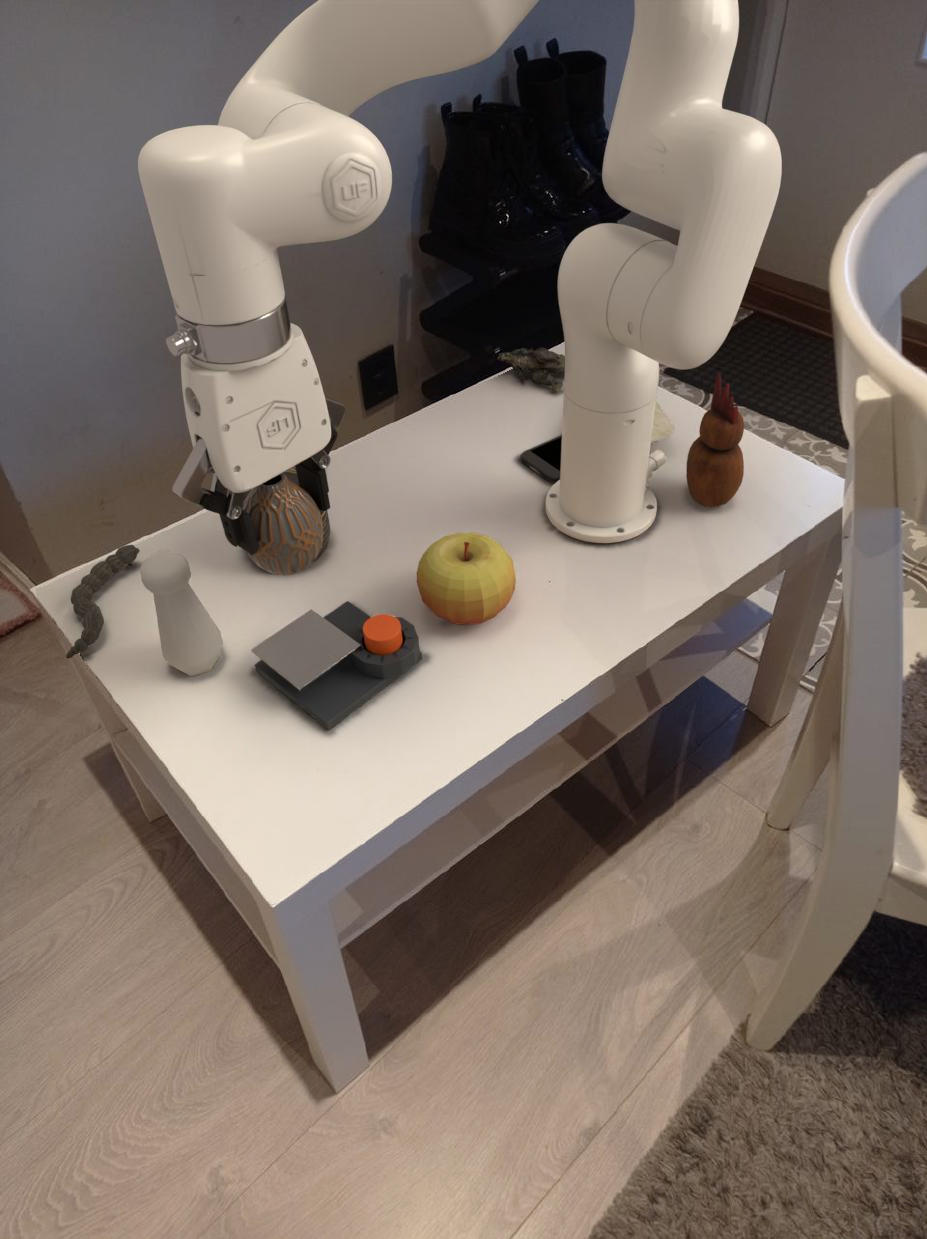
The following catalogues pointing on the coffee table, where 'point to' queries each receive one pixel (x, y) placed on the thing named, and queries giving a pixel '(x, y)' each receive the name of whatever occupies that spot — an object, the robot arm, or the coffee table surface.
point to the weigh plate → (306, 649)
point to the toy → (91, 585)
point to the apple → (466, 578)
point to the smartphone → (545, 459)
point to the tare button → (382, 634)
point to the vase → (284, 526)
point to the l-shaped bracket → (349, 671)
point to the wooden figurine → (717, 452)
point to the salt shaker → (181, 614)
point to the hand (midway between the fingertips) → (281, 523)
